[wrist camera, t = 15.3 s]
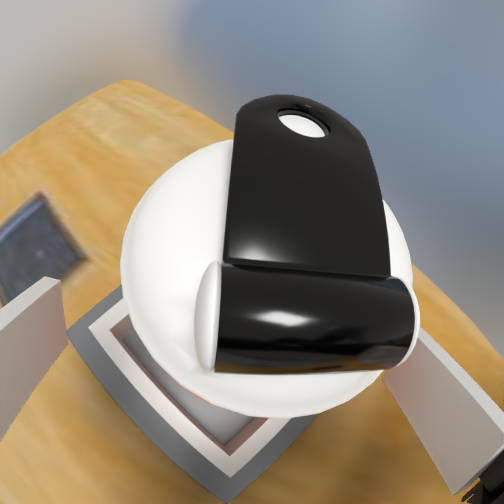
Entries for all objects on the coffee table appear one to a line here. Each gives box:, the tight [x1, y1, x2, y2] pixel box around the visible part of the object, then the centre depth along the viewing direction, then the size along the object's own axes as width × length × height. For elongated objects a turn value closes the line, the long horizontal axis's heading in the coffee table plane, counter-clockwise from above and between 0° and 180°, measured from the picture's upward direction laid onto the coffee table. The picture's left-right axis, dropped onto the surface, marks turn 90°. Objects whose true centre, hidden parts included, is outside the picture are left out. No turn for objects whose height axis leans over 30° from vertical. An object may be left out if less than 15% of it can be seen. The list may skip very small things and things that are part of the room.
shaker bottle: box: [120, 95, 420, 419], centre depth 14 cm, size 9×9×20 cm
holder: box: [66, 284, 318, 504], centre depth 22 cm, size 20×20×5 cm
